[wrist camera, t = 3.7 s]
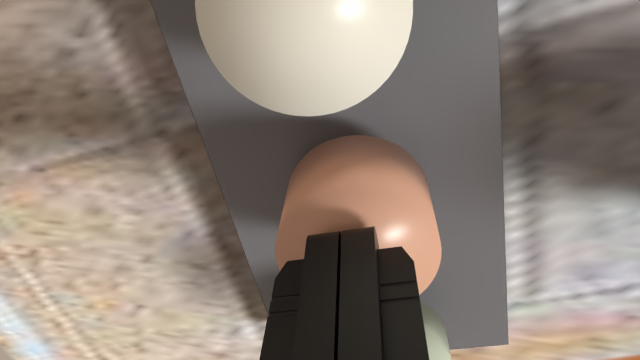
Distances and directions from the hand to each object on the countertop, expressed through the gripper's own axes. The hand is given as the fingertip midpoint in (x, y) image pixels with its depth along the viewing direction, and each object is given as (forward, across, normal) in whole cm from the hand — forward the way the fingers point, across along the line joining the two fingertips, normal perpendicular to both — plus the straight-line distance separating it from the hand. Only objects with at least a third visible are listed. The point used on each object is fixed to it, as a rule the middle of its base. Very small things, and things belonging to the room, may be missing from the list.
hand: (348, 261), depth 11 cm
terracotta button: (+3, 0, 0) cm, 3 cm away
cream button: (+3, 0, -5) cm, 6 cm away
